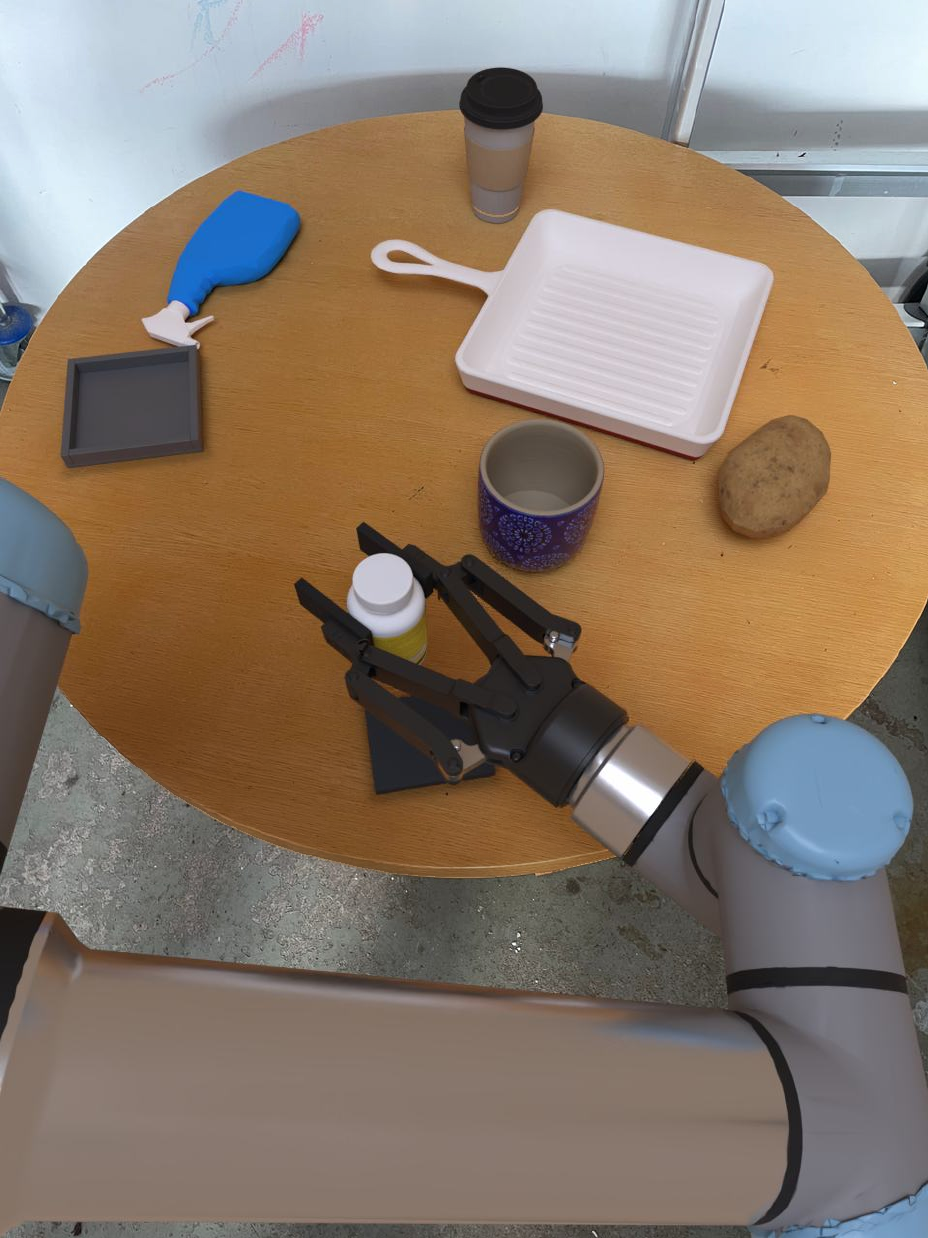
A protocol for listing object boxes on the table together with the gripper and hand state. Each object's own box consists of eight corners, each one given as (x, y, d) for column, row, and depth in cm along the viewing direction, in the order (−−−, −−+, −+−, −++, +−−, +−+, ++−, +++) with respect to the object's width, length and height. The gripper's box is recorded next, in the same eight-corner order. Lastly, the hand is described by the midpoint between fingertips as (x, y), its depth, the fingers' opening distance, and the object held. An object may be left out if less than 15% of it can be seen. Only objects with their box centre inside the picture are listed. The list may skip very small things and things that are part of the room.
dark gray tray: (67, 468, 88) (60, 456, 86) (74, 371, 95) (67, 358, 93) (203, 451, 89) (198, 439, 88) (200, 357, 96) (195, 344, 94)
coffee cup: (464, 182, 111) (465, 59, 98) (537, 189, 111) (548, 66, 98) (453, 229, 107) (453, 107, 94) (529, 236, 106) (540, 115, 93)
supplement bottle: (443, 650, 65) (440, 581, 56) (387, 693, 63) (375, 630, 55) (397, 603, 67) (388, 530, 58) (342, 644, 65) (323, 575, 57)
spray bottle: (227, 184, 106) (115, 315, 95) (307, 206, 104) (202, 342, 93) (233, 205, 109) (125, 335, 98) (311, 227, 107) (209, 363, 96)
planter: (599, 579, 82) (619, 507, 72) (485, 593, 81) (490, 523, 71) (574, 488, 87) (589, 410, 78) (467, 500, 86) (469, 423, 77)
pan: (706, 477, 88) (718, 446, 84) (321, 359, 96) (315, 325, 92) (765, 299, 101) (778, 265, 97) (422, 208, 109) (421, 172, 105)
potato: (680, 531, 85) (700, 479, 78) (745, 442, 90) (769, 386, 84) (770, 581, 82) (800, 532, 75) (832, 486, 88) (864, 432, 81)
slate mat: (375, 795, 71) (375, 791, 71) (364, 707, 75) (363, 702, 74) (494, 776, 72) (495, 771, 71) (478, 689, 76) (478, 685, 75)
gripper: (503, 894, 54) (246, 675, 61) (668, 688, 61) (420, 514, 68) (510, 865, 47) (221, 623, 54) (693, 637, 54) (416, 450, 61)
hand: (332, 563), depth 61 cm, fingers closed on supplement bottle, 5 cm apart
